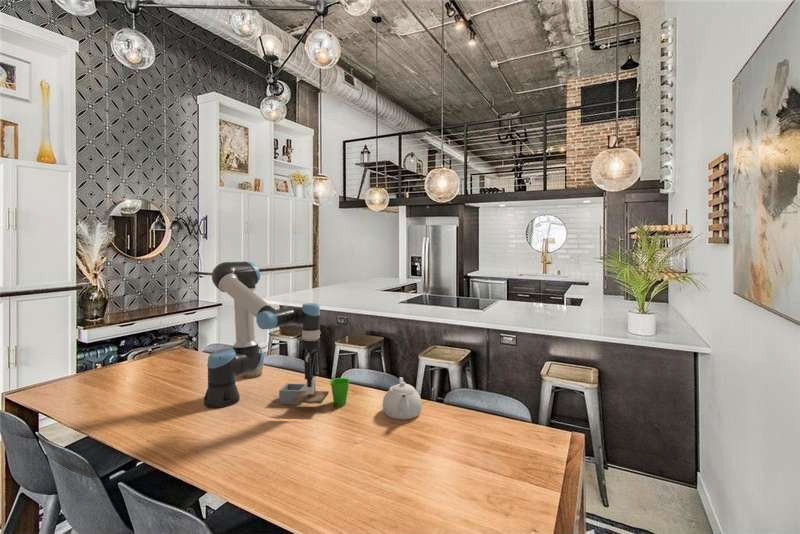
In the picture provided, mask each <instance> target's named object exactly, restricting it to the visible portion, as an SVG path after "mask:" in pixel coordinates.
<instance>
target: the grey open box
mask: <svg viewBox="0 0 800 534" xmlns="http://www.w3.org/2000/svg"><path fill="white" fill-rule="evenodd" d="M278 391H279V392H278V395H279V397H278V401H279V402H278V404H279V405H280V404H283V405H302V404H303V403H294V399H295V398H296V397H297V396H298V395H299V394H300V393H301V392H302V391H307V383H293V382H291V383H290V382H288V383H285V385H283V386H282V387H281V388H280V389H279V390H278Z"/></svg>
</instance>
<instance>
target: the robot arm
mask: <svg viewBox="0 0 800 534" xmlns="http://www.w3.org/2000/svg"><path fill="white" fill-rule="evenodd" d="M260 279H261V272H260V269H259V267H258V265H256V264H255V263H253V262H251V261H226V262H225V261H223V262H221V263H219V264H217V265H216V266H215V267H214V268H213V270H212V273H211V281H212V283H213V285H214V287H216V288H217V289H218V290H219V291H220V292H222V293H226V294H227V295H229V296H230V297H231V298H232V299H233V304H234V307H233V308H234V326H235V343H234V344H233V345H232V348H224V349H219V350H216V351H213V352H212V353H210V354H209V355H208V357H207V364H206V365H207V388H206V392H205V395H204V397H203V406H204V407H205V408H206V407H207V408H209V409H212V408H213V409H215V408H216V409H217V408H218V409H219V408H225V407H231V406H233V405H236V404H237V403H239V401H240V400H241V399H240V392H239V389H238V387H237V385H236V376H240V375H242V374H243V373H246V372H251V371H253V370H255V369H258V368H259V367H260V366H261V365H262V363H263V364H264V362H263V360H265V353H264V350H263V348H262V347H261V346H260V345H259V342H258V341H256V340H255V338H256V336H255V319H254V318H256V324H257V326H258V327H259V329H261V330H272V329H276V328H280V327H286V326H290V325H300V326H301V330H302V331H301V338H302V341H301V342H302V344H301V345H302V349H303V350H306V353H305V357H303V363H304V364H303V365H304V380H306V384H307V394H313V377H315V391H317V376H318V375H319V373H318V359H319V358H318V357H319V350H317V349H319V348H320V347H321V340H320V338H321V336H320V335H321V334H322V332H321V331H320V330H321V322H320V321H321V309H320V305H319V304H318V303H315V302H314V303H313V302H312V303H304V304H302V307H299V306H293V305H291V306H288V305H287V306H286V305H285V306H284V307H282V308H278V309H275V308H274V307H273V306H272V305H270V304H269V303H267V301H265V300H264V299H262V297H260V296H259V295H258V294H257V293H256V292H254V291H255V290H256V285H257V284H258V283H259V282H260Z"/></svg>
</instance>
